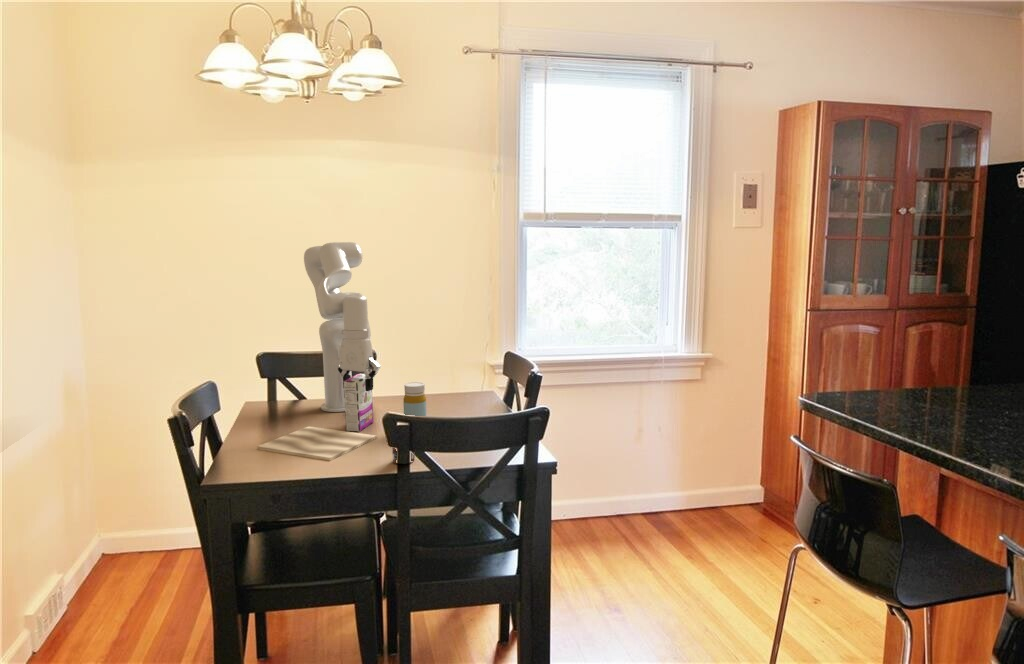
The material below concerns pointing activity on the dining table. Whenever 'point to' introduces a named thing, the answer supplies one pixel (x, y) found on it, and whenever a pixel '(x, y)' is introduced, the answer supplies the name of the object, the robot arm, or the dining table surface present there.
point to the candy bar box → (357, 403)
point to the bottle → (414, 399)
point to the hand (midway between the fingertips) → (358, 388)
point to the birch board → (317, 443)
